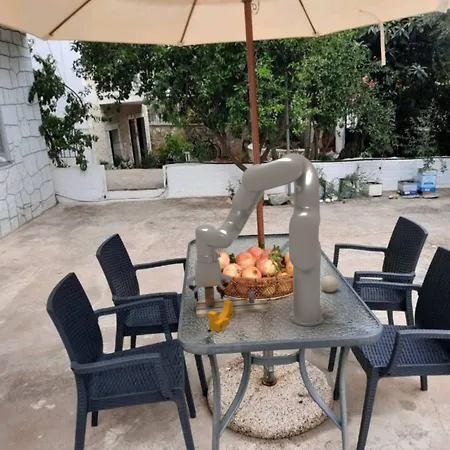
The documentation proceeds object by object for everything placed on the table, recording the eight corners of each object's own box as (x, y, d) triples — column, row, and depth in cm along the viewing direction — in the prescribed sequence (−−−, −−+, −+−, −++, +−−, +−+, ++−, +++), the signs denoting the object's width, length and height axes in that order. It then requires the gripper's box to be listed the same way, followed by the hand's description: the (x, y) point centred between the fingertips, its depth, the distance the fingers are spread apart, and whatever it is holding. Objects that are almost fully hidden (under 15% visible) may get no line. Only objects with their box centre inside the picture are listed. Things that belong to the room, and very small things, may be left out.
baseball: (341, 292, 170) (341, 277, 168) (325, 295, 168) (325, 280, 166) (333, 286, 176) (333, 272, 174) (317, 289, 174) (317, 274, 173)
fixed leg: (254, 300, 163) (253, 290, 162) (254, 303, 161) (254, 292, 160) (248, 301, 163) (248, 290, 162) (249, 303, 161) (249, 292, 160)
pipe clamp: (219, 332, 144) (218, 315, 142) (209, 329, 146) (208, 313, 145) (237, 318, 154) (236, 302, 152) (227, 315, 156) (226, 299, 154)
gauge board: (264, 297, 169) (263, 293, 168) (269, 311, 157) (269, 306, 157) (195, 303, 167) (195, 299, 166) (196, 317, 155) (196, 313, 154)
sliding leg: (214, 302, 163) (213, 284, 161) (214, 306, 159) (213, 288, 157) (205, 302, 162) (204, 285, 161) (205, 307, 159) (204, 289, 157)
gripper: (228, 252, 160) (230, 293, 164) (184, 256, 159) (187, 297, 163) (230, 259, 153) (232, 301, 157) (184, 263, 151) (187, 305, 156)
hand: (209, 299), depth 160 cm, fingers open, 9 cm apart
